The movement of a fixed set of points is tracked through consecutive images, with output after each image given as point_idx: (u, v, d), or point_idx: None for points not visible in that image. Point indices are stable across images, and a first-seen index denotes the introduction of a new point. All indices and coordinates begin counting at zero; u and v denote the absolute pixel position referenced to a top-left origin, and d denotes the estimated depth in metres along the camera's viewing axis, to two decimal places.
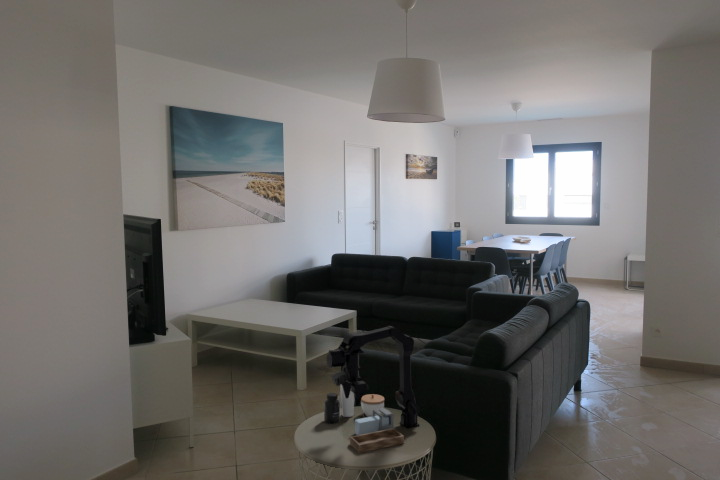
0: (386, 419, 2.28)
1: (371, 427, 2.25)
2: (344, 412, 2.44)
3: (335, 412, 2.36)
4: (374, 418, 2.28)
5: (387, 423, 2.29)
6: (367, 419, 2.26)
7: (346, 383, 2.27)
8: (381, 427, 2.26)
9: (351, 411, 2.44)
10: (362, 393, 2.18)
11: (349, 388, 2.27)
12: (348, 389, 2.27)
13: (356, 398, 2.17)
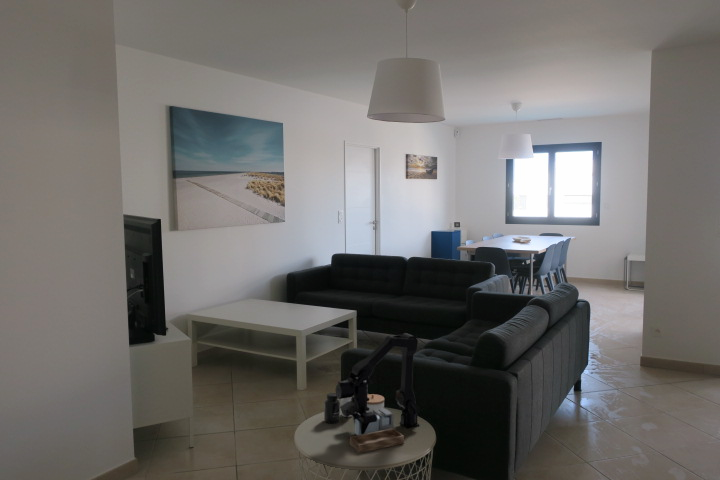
0: (386, 419, 2.28)
1: (371, 426, 2.25)
2: None
3: (335, 412, 2.36)
4: None
5: (388, 423, 2.28)
6: None
7: (357, 414, 2.27)
8: (381, 427, 2.26)
9: None
10: None
11: None
12: None
13: (362, 427, 2.22)
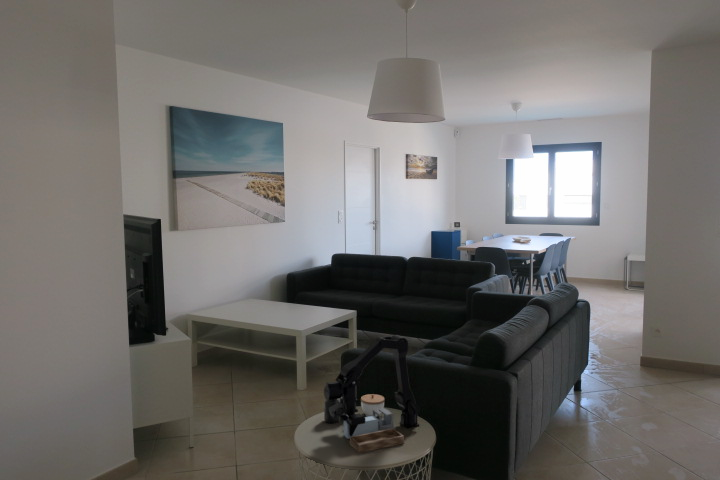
0: (375, 421, 2.26)
1: (360, 428, 2.23)
2: None
3: None
4: None
5: (377, 424, 2.26)
6: None
7: (346, 416, 2.25)
8: (381, 427, 2.26)
9: None
10: None
11: None
12: None
13: (350, 429, 2.19)
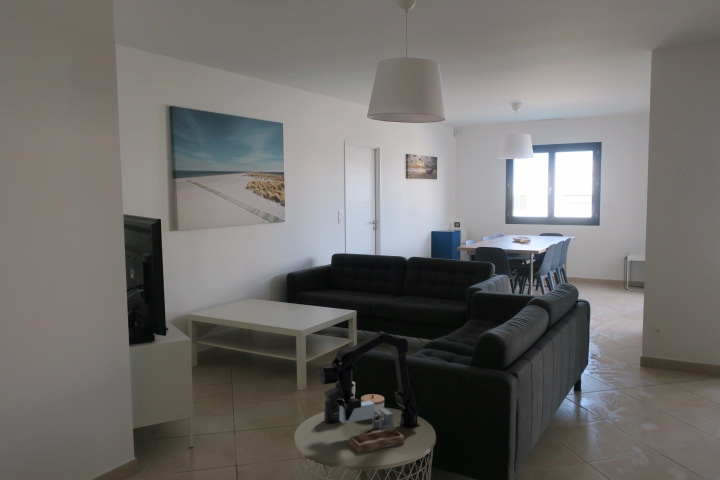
0: (371, 405, 2.24)
1: (356, 413, 2.22)
2: None
3: (335, 412, 2.36)
4: None
5: (373, 409, 2.25)
6: None
7: (342, 401, 2.24)
8: (381, 427, 2.26)
9: None
10: None
11: None
12: None
13: (346, 413, 2.18)
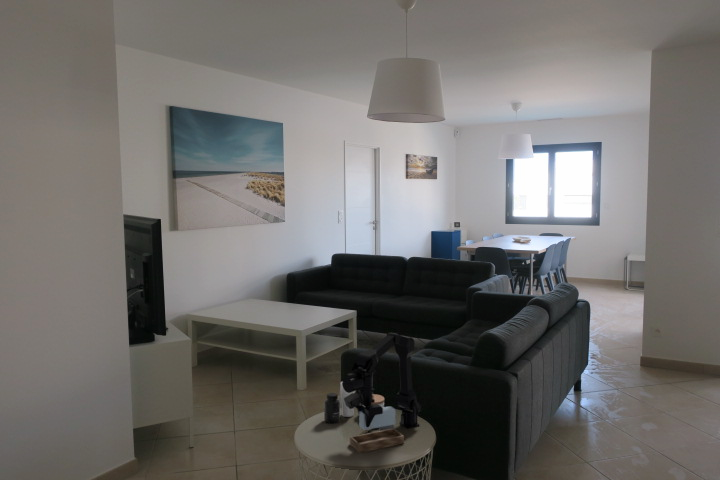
0: (392, 411, 2.16)
1: (377, 419, 2.13)
2: (344, 412, 2.44)
3: (335, 412, 2.36)
4: None
5: (394, 415, 2.17)
6: None
7: (362, 407, 2.16)
8: (381, 427, 2.26)
9: (351, 411, 2.44)
10: (373, 414, 2.11)
11: None
12: None
13: (367, 419, 2.10)
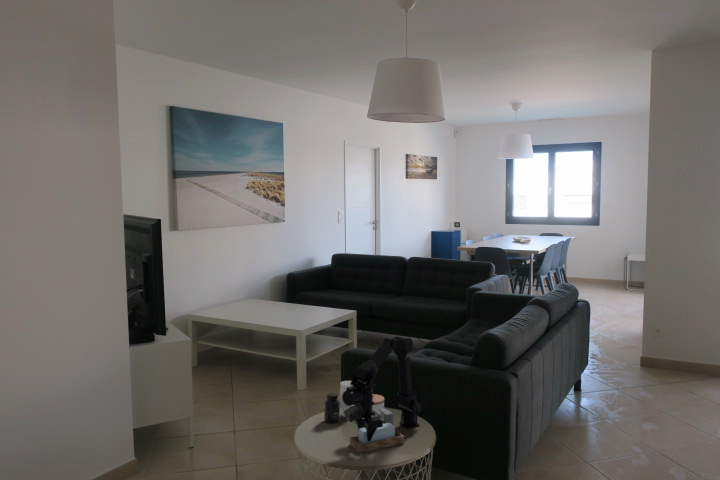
0: (392, 428, 2.17)
1: (376, 436, 2.14)
2: None
3: (335, 412, 2.36)
4: None
5: (393, 432, 2.17)
6: None
7: (360, 418, 2.17)
8: None
9: None
10: (375, 428, 2.10)
11: (363, 424, 2.17)
12: (362, 425, 2.17)
13: (368, 434, 2.09)
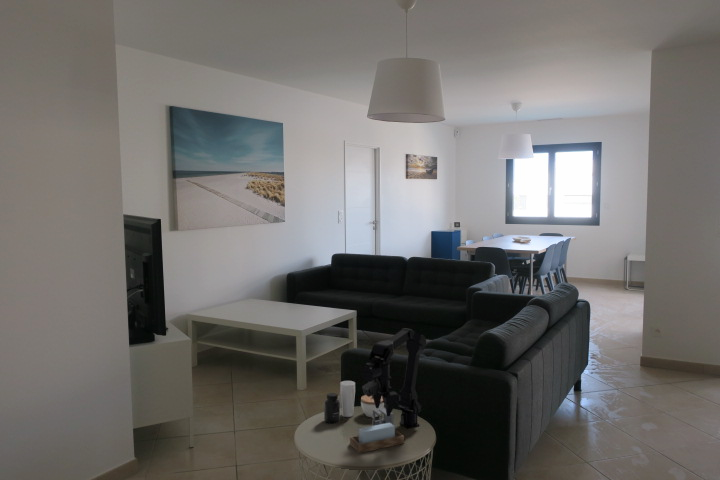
0: (392, 428, 2.17)
1: (376, 436, 2.14)
2: (344, 412, 2.44)
3: (335, 412, 2.36)
4: (379, 426, 2.16)
5: (393, 432, 2.17)
6: (372, 428, 2.15)
7: (376, 392, 2.24)
8: None
9: (351, 411, 2.44)
10: (394, 404, 2.14)
11: (379, 398, 2.24)
12: (378, 399, 2.24)
13: (388, 409, 2.14)
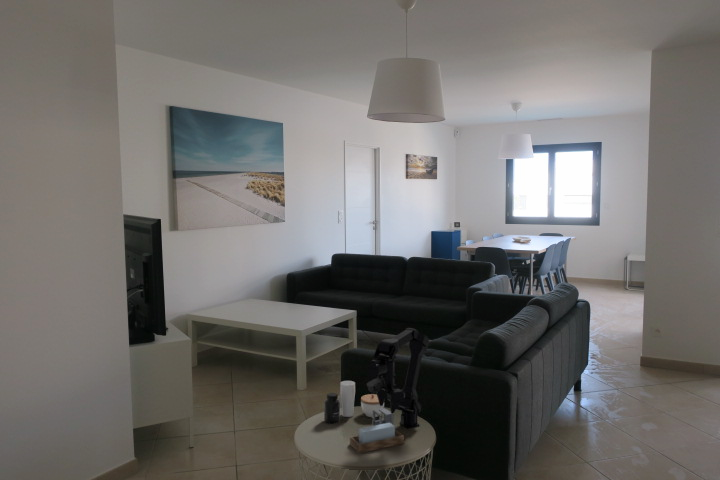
0: (392, 428, 2.17)
1: (376, 436, 2.14)
2: (344, 412, 2.44)
3: (335, 412, 2.36)
4: (379, 426, 2.16)
5: (393, 432, 2.17)
6: (372, 428, 2.15)
7: (380, 390, 2.25)
8: None
9: (351, 411, 2.44)
10: (398, 401, 2.16)
11: (383, 395, 2.26)
12: (382, 396, 2.25)
13: (392, 406, 2.15)
